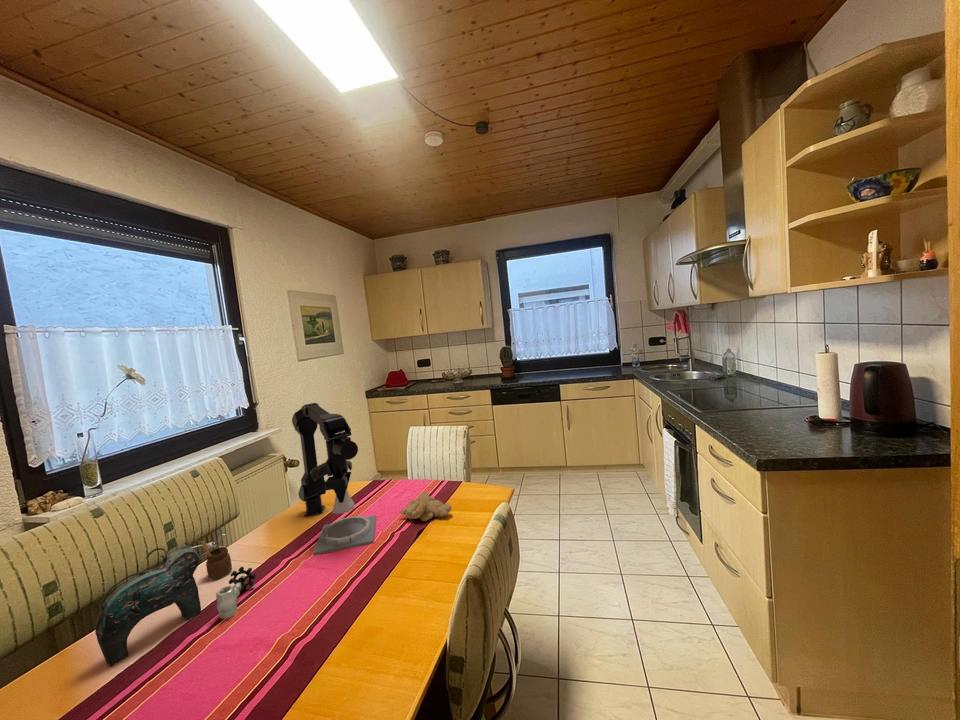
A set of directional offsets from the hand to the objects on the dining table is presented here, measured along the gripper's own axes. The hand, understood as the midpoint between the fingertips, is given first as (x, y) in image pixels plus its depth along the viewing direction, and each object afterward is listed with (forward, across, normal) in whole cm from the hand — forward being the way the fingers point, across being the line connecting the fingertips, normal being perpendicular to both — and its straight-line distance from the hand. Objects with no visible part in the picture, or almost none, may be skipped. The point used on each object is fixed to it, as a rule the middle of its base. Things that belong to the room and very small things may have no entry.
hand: (342, 499), depth 128 cm
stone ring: (+12, 0, 0) cm, 12 cm away
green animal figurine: (+13, +31, -39) cm, 51 cm away
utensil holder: (+13, +9, -35) cm, 38 cm away
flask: (+4, 0, 0) cm, 4 cm away
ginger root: (+13, -3, +26) cm, 29 cm away
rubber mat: (+12, 0, 0) cm, 12 cm away
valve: (+13, +26, -25) cm, 38 cm away
